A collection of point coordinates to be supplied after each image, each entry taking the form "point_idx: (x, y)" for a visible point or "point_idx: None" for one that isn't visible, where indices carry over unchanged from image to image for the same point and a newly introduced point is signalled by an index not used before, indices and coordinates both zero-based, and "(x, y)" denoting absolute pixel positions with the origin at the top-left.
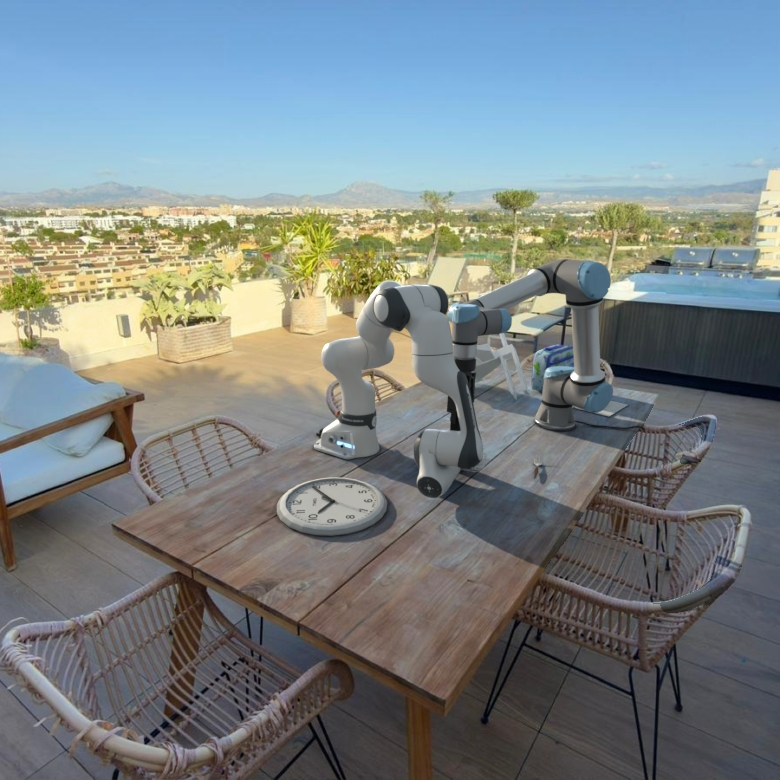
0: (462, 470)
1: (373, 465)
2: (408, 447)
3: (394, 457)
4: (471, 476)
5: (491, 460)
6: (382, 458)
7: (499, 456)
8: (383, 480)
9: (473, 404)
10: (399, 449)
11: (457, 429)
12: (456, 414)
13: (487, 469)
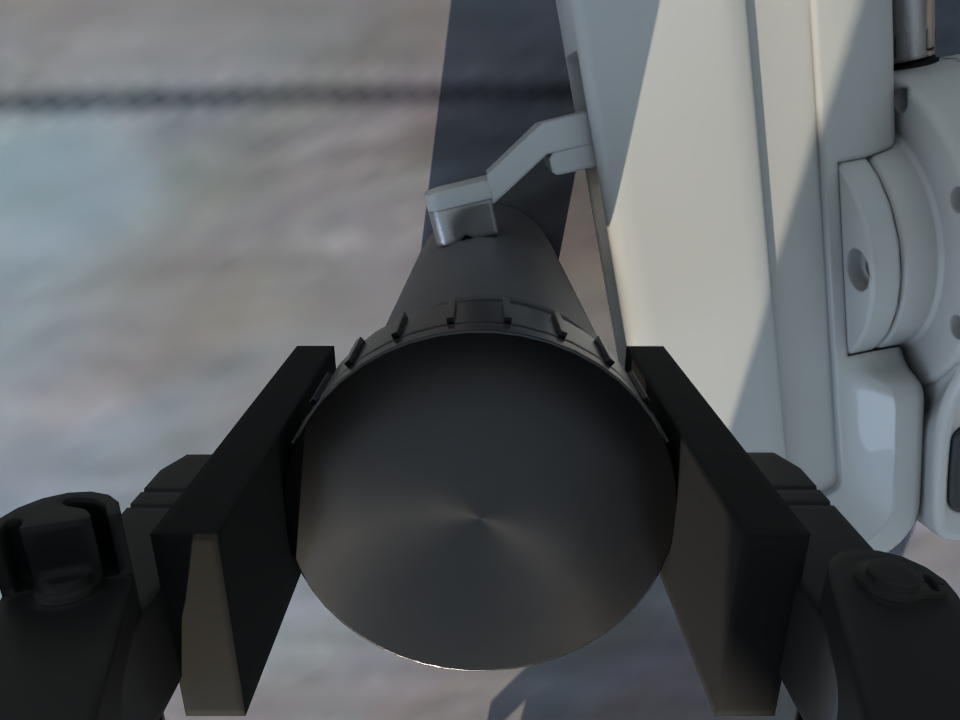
0: (512, 208)
1: (779, 703)
2: (407, 686)
3: (601, 674)
4: (559, 94)
5: (160, 97)
6: (658, 715)
7: (29, 73)
8: (947, 560)
9: (3, 529)
10: (473, 710)
11: (680, 379)
12: (809, 564)
13: (348, 39)
